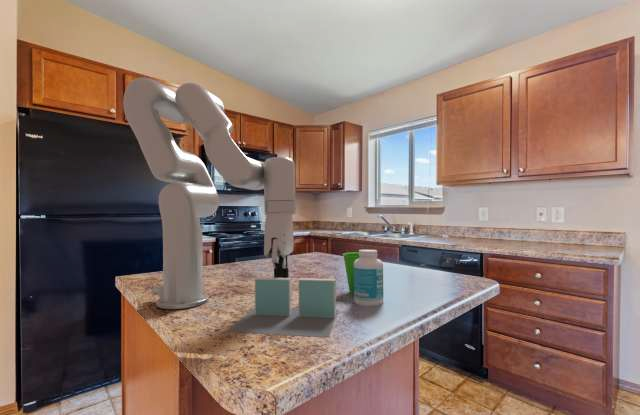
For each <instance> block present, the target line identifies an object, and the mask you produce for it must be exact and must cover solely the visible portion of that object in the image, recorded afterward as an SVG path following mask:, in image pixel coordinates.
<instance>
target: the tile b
mask: <svg viewBox="0 0 640 415" xmlns="http://www.w3.org/2000/svg"><path fill="white" fill-rule="evenodd" d="M297 281H298V308H299V316H301V317H324V318H335V317H337V315H336V310H337V302H336V301H337V296H336V294H337V292H336V290H337V288H336V282H337V280H336V278H307V277H306V278H304V277H299V278H298V280H297ZM335 319H336V318H335Z"/></svg>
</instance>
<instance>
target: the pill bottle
mask: <svg viewBox="0 0 640 415" xmlns="http://www.w3.org/2000/svg"><path fill="white" fill-rule="evenodd" d="M358 252H359V256H360V258H359V259H357V260H355V261H354V294H353V302H354V303H356V304H357V305H360V306H365V307H366V306H371V307H372V306H380V305H382V304H383V303H384V263H383V261H382V260H381V259H379V258H378V250H377V249H359V250H358Z"/></svg>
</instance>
